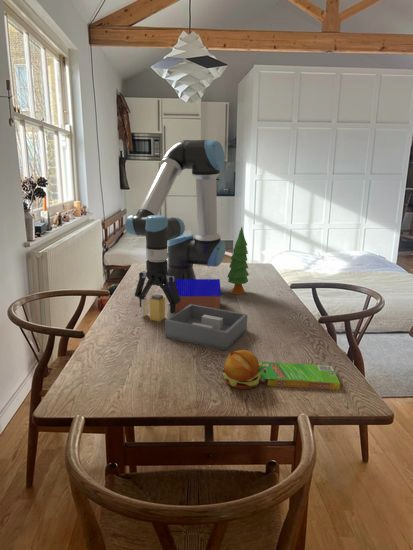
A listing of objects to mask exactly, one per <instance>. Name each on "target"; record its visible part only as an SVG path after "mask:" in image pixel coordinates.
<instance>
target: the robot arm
mask: <svg viewBox="0 0 413 550" xmlns="http://www.w3.org/2000/svg"><path fill="white" fill-rule="evenodd" d="M225 158H226V156H225V151H224V147H223V146H222V144H221V142H220V141H218V140H215V139H214V140H212V139H183V140H180V141H178V142H177V143H175V144H173V146H171V147H170V148H169V149H168V150H167V151H166V152H165V153H164V155H163V156H162V158H161V160H160V162H159V166H160V167H159V169H158V171H157V173H156V175H155V177H154V179H153V181H152V183H151V184H150V186H149V189H148V190H147V193H146V195H145V197H144V199H143V200H142V203H141V204H140V207H139V209H138V210H137V212H136V214H131V215H129V216H127V218H126V219H125V222H124V226H125V227H124V228H125V231H126V232H127V234H129V235H133V236H137V237H140V236H141V237H145V245H146V246H145V251H146V252H145V253H146V254H145V256H146V257H145V259H146V261H145V262H146V263H145V265H146V267H145V268H146V269H145V270H146V271H145V270H144V271H143V270H142V271H141V272H139V273H138V281H137V286H136V288H135V293H134V297H136V298H138V299H139V307H140V308H141V317H143V318H144V317H146V316H147V315H148V298H147V294H148V293H149V291H150V289H152V286H157V287H159V288H160V289H162V291H163V293H164V295H165V298H166V299H167V301H168V304H167V319H168V318H169V317H171V316H172V315H174V314H175V313H176V312H175V304H177V303H179V302H180V297H179V294H178V290H177V286H176V283H175V279H197V277H196V273H195V270H194V265H198V266H205V267H207V268H208V267H210V268H211V267H212V268H213V267H219V266H220V265H221V264H222V262H223V261H224V258H225V254H226V249H227V248H226V243H225V242H224V241H223V240H221V235H220V234H219V233H218V217H217V216H218V213H217V212H218V209H217V208H218V207H217V205H218V203H217V201H218V200H217V198H218V197H217V178H218V177H219V175H220V172H221V170H223V169H224V167H225V163H226V159H225ZM187 169H188V170H191V175H192V176H193V177H194V178H195V189H196V190H195V191H196V193H195V194H196V195H195V196H196V197H195V198H196V219H197V220H196V221H197V222H196V223H197V224H196V225H197V233H196V234H195V235H194V234H190V233H187V234H184V233H185V231H186V226H185V223H184V220H182V219H181V218H179V217H167V215H160V213H161V212H160V211H161V210H162V207H163V206H164V203H165V201H166V199H167V198H168V195H169V193H170V192H171V189H172V188H173V187H172V186H173V185H174V183H175V181H176V179H177V177H178V176H180V175H181V174H182V172H183V171H184V170H187ZM146 278H147V279H148V280H147V281H146ZM145 282H146V284H145ZM169 286H170V289H171V291H170V289H169Z"/></svg>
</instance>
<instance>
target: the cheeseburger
mask: <svg viewBox="0 0 413 550" xmlns="http://www.w3.org/2000/svg"><path fill="white" fill-rule="evenodd" d="M258 361H259V360H258V359H257V356H256V355H255V354H254V353H253V352H251V351H249V350H246V349H239V350H235V351H232V352H230V353H229V354H228V356H227V357H226V360H225V362H224V366H223V369H222V371H221V372H222V375H223V378H224V380H225V382H226V384H227V385H229V386H231V387H233V388H236V389H243V390H248V389H253V388H255V387H257V386H258V384H259V383H260V381H261V380H260V378H261V370H262V368H263V367H262V366H260V362H258Z"/></svg>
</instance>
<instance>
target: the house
mask: <svg viewBox="0 0 413 550" xmlns="http://www.w3.org/2000/svg"><path fill="white" fill-rule="evenodd" d="M175 283H176V286H177V290H178V294H179V297H180V302H179V303H177V304H175V312H174V313H177V312H179V311H180V310H182V309H183V308H185V307H187V306H188V305H190V304H193V305H199V306H204V307H210V308H215V309H221V308H220V307H221V296H222V293H221V292H222V290H221V280H220V278H218V279H217V278H211V279H210V278H205V279H204V278H203V279H202V278H196V279H175ZM169 289H170V286H169ZM170 291H171V289H170Z"/></svg>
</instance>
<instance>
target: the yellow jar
mask: <svg viewBox="0 0 413 550" xmlns="http://www.w3.org/2000/svg"><path fill="white" fill-rule="evenodd" d="M164 319H166V296H165V297H164V295H162V294H154V295H152V296H151V297H150V298H149V320H150V321H154V322H155V321H157V322H161V321H162V320H164Z"/></svg>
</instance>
